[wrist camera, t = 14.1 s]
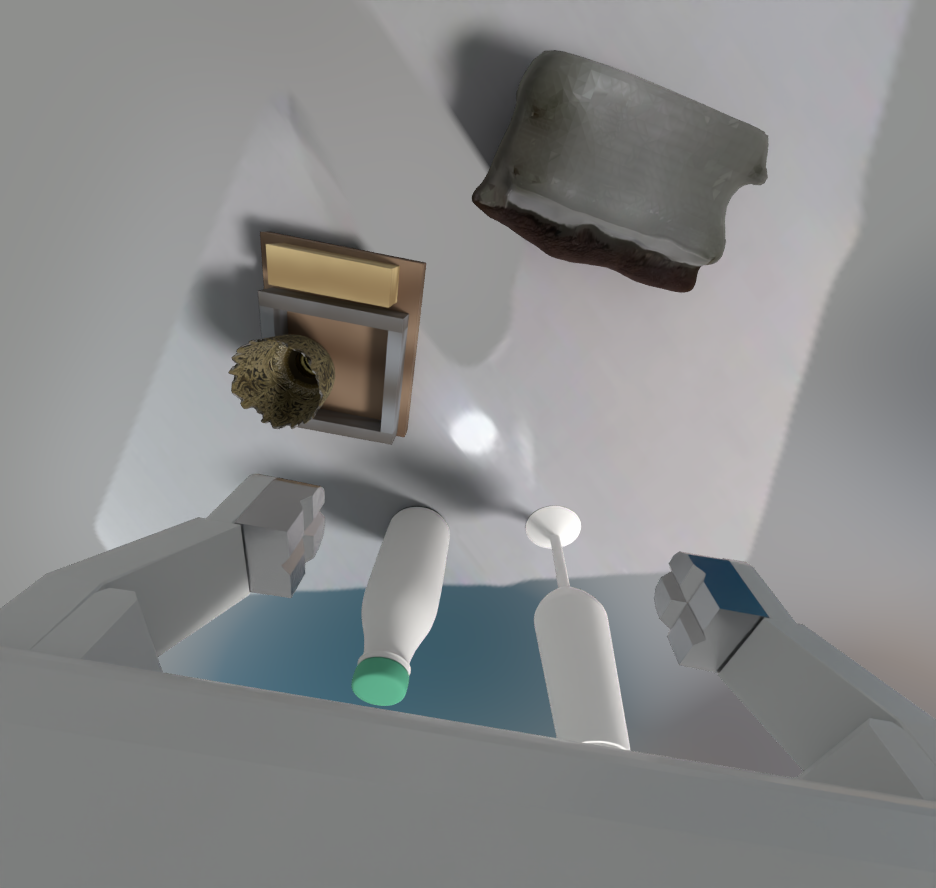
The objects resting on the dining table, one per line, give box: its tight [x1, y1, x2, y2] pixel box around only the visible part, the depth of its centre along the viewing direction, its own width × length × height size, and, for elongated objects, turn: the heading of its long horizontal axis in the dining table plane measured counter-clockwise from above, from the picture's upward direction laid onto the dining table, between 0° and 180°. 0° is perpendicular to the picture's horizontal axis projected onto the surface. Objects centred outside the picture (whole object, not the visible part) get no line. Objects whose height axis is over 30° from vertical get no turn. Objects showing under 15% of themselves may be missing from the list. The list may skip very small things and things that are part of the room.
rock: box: [472, 50, 768, 292], centre depth 28 cm, size 18×11×8 cm, turn 74°
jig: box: [258, 232, 426, 445], centre depth 37 cm, size 17×14×4 cm
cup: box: [229, 334, 335, 429], centre depth 35 cm, size 8×7×8 cm
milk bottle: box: [352, 507, 450, 706], centre depth 41 cm, size 8×8×20 cm
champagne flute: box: [526, 506, 630, 750], centre depth 38 cm, size 7×7×24 cm
